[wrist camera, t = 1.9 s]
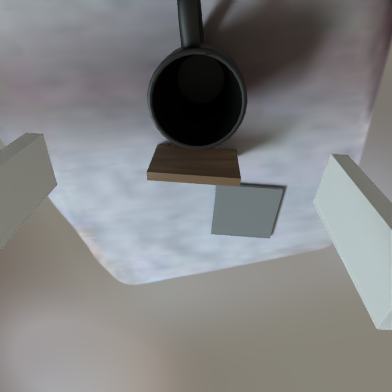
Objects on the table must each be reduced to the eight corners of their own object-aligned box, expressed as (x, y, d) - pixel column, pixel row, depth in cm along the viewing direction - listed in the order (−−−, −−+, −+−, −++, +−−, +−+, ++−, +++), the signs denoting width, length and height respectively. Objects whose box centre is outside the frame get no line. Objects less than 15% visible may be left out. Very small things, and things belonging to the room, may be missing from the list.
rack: (152, -41, 25) (133, -56, 19) (263, -34, 25) (279, -47, 19) (158, 151, 36) (147, 180, 30) (235, 157, 35) (239, 186, 30)
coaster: (216, 182, 38) (216, 184, 37) (282, 187, 38) (283, 189, 37) (211, 231, 43) (211, 234, 42) (269, 235, 43) (269, 238, 42)
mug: (241, -14, 26) (253, -23, 18) (237, 114, 32) (245, 149, 24) (153, -7, 26) (128, -13, 18) (168, 117, 33) (154, 152, 25)
